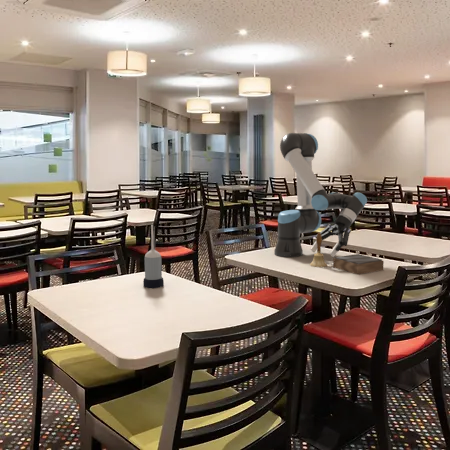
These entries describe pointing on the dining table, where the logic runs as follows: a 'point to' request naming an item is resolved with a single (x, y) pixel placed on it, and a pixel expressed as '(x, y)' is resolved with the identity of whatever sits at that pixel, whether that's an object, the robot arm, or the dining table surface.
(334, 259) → the bell stand
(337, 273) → the dining table surface
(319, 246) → the hand bell
